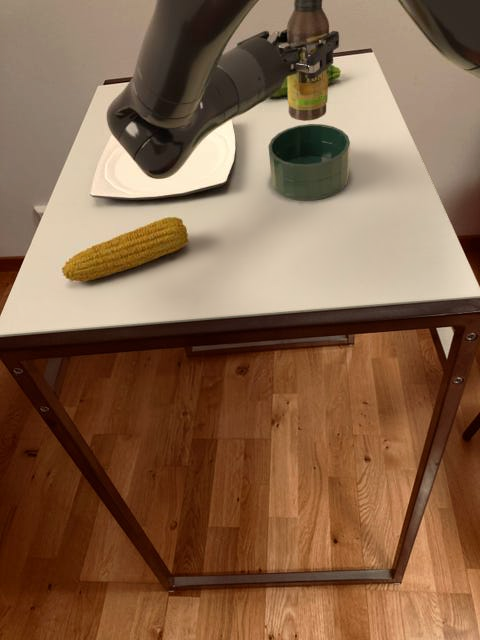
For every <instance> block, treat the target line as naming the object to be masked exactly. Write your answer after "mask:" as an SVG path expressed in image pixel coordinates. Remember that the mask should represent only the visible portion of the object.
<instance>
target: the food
mask: <svg viewBox="0 0 480 640" xmlns="http://www.w3.org/2000/svg"><path fill="white" fill-rule="evenodd" d="M183 222H184V221H183V219H182V218H179V217H176V216H172V217H171V216H168V217H164V218H161V219H159V220H155V221H154V222H149V223H148V224H145V225H144V226H140V227H139V228H136V229H134V230H131V231H128V232H125V233H121V234H120V235H117V236H115V237H112V238H111V239H109V240H106V241H102V242H100V243H97V244H95V245H92V246H91V247H89V248H86V249H84V250H83V251H80V252H78V253H76V254H75V255H73V256H72V257H69V259H68V261H65V262H64V263H65V264H64V265H63V266H62V268H61V270H62V271H61V273H62V276H64V277H65V279H68V280H69V281H72V282H74V281H75V282H86V281H87V282H88V281H92V280H96V279H99V278H103V277H107V276H110V275H113V274H115V273H119V272H124V271H126V270H129V269H133V268H134V267H137V266H141V265H143V264H146V263H148V262H151V261H154V260H156V259H158V258H160V257H163V256H164V255H169V254H171V253H175V252H177V251H178V250H180V249H183V248H184V247H186V246H187V244H189V243H190V242H189V238H188V237H189V233H188V230H187V226H186V225H184V223H183Z"/></svg>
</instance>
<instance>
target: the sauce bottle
mask: <svg viewBox="0 0 480 640" xmlns="http://www.w3.org/2000/svg"><path fill="white" fill-rule="evenodd" d="M293 5H294V7H293V11H292V13H291V16H290V17H289V19H288V22H287V24H286V29H287V43H289V44H291V43H294V42H298V41H301V40H307V41H309V42H312V41H316V40H319V39H320V38H322V37H324V36H325V35H327V34H329V33H330V21H329V19H328V17H327V15H326V13H325V12H324V9H323V0H294V1H293ZM315 51H317V47H316V48H313V49H312V50H311V54H313V53H314V52H315ZM300 61H303V48H300ZM328 69H329V67H328V68H327V69H325V70H324V71H323V72H322V73H321V74H319V75H318V76H317V77H316V78H314V79H308V78H307V72H303V71H299V72H298V73H296V74H294V75H290V76H288V77H287V85H288V95H287V105H288V114H289V116H290V118H292V119H294V120H297V121H302V122H307V121H309V122H310V121H315V120H318V119H320V118H322V117H323V116H325V115H326V113H327V103H328V100H329V99H328V97H329V96H328V95H329V84H328Z"/></svg>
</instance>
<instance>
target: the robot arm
mask: <svg viewBox="0 0 480 640" xmlns="http://www.w3.org/2000/svg"><path fill="white" fill-rule="evenodd" d="M259 1H260V0H156V3H155V7H154V8H153V9H154V10H153V13H152V15H151V18H150V20H149V22H148V25H147V28H146V30H145V34H144V37H143V39H142V43H141V46H140V48H139V49H140V50H139V52H138V57H137V61H136V64H135V68H134V70H133V71H134V72H133V75H132V78H131V79H130V81H129V82H128V83H127V85H126V86H125V87H124V89H123V90H122V91H121V92H120V93H119V94H118V95H117V96H116V97H115V98H114V99H113V100H112V101H111V103H110V104H109V106H108V108H107V109H106V110H107V111H106V122H107V127H108V129H109V131H110V133H111V135H112V134H113V136H114V137H115V138H116V140H117V141H118V142H119V143H120V144H121V146H122V147H123V148H124V149H125V151H126V152H127V153H128V154H129V155H130V157H131V158H132V159H133V160H134V161H135V163H136V164H137V165H138V167H139V168H140V169H141V170H142V171H143V173H145V174H146V175H147V176H148V177H150V178H153V179H164V178H168V177H171V176H172V175H174V174H175V173H176V172H178V171H179V170H180V168H181V167H182V166H183V165H184V164H185V162H186V161H187V160H188V158H189V157H190V156H191V154H192V153H193V151H194V150H195V149H196V147H197V146H198V145H199V144H200V143H201V142H202V141H203V140H204V139H205V138H206V137H207V136H208V135H209V134H210V133H211V132H213V131H214V130H215V129H217V128H218V127H220V126H221V125H223V124H225V123H226V122H228V121H229V120H232V119H234V118H236V117H239V116H241V115H244V114H246V113H247V112H249V111H251V110H252V109H253V108H255V107H256V106H258V105H260V104H262V103H263V102H265V101H267V100H268V99H270V98H269V97H271V96H272V95H274V94H275V93H277V92H278V91H279V90H280V88H281V87H282V85H283V83H284V81H285V79H286V77H288V76H290V75H294V74H296V73H298V72H299V71H303V72H307V78H308V79H314V78H316V77H317V76H318V75H319V74H321V73H322V72H323V71H324V70H325V69H327V68H328V67H329V66H330V65H334V51H335V50H337V49H338V48H340V33H339V31H337V30H332V31H329V34H327V35H325V36H324V37H322V38H320V39H319V40H316V41H312V42H309V41H307V40H301V41H298V42H294V43H291V44H289V43H287V28H286V29H284V30H282V31H279V30H276V31H273V32H272V34H270V31H268V30H263V31H260V32H259V33H257V34H254V35H252V36H250V37H248V38H245V39H244V40H242V41H239V42H237V43H236V46H235V47H233V48H232V49H230V50H228V51H226V52H224V51H225V49H226V47H227V46H228V43H229V42H230V40H231V38H232V37H233V36H234V34H235V33H236V31H237V30H238V28H239V27H240V25H241V24H242V22H243V21H244V20H245V18H246V17H247V16H248V14H249V13H250V12H251V10H252V9H253V8H254V7H255V6H256V4H258V2H259ZM397 2H398V3H399V5H400V6H401V7H402V9H403V10H404V12H405V13H406V14H407V16H408V17H409V19H410V20H411V21H412V23H413V24H414V26H415V27H416V28H417V29H418V31H419V32H420V33H421V34H422V35H423V37H424V38H425V39H426V41H427V42H428V44H429V45H431V46H432V47H433V48H434V50H436V52H437V53H439V55H441V56H442V57H443V58H444V59H446V60H447V61H448V62H450V63H452V64H453V65H455V66H456V67H458V68H459V69H461V70H463V71H465V72H466V73H469V74H471V75H473V76H475V77H476V78H478V79H480V0H397ZM316 47H317V51H315V52H314V53H313V54H311V50H312V49H313V48H316ZM300 48H303V61H300Z"/></svg>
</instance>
